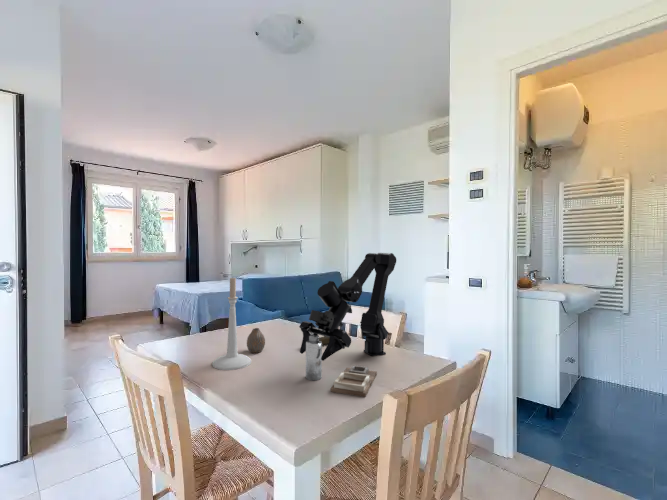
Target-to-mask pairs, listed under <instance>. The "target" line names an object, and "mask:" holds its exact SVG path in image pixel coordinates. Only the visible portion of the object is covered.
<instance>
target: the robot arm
mask: <svg viewBox="0 0 667 500" xmlns="http://www.w3.org/2000/svg"><path fill="white" fill-rule="evenodd" d="M396 265H397V257H396V256H395V254H394V253H393V252H378V253H377V252H376V253H374V252H373V253H372V252H368V253H366V254H365V257H364V259H363V260H362V262H361V263H360V264H359V266H358V267H357V269H356V270H355V272H354V273H353V274H352V276H351V277H349V278H348V279H346V280H344V281H343V282H342V283H341V284H340V285H339V286H337V285H336V282H335V281H334V280H333V281H332V280H329V281H327V283H324V284H322V285H321V286H320V287H319V288H318V289H317V295H318V297H319V298H320V300H321V301H322V302H323V304H324V305H325V306H326V307H327V308H329V309H328V310H326V311H324V312H323V311H320V310H314V309H312V310H311V312H310V313H309V314H310V315H309V318H308V320H309V321H310V322H309V321H305V320H304V321H303V320H302V321H301V323H300V324H299V326H298V327H299V329H300V331H301V333H302V341H301V344H300V350H299V353H300V354H303V355H304V353H306V342H307V341H309V336H310V335H319V336H321V337H324V336H326V337H329V343H328V344H326V347H325V349H324V351H323V352H322V357H321V360H322V362H324V361H326V360H327V359H328V358H330V357H331V356H333V355H334V354H335V353H337V352H339V351H341V350H343V349H345V348H350V345H351V344H352V338H351V337H350V335H349V334H348V332H347V331H346V330H345V329H340V328H342V327H343V320H344V319H345V317H346V315H347V313H348V314H353V309H352V305H350V304H349V303H357V302H358V301H359V299H360V298H361V296H362V294H363V286H364V285H365V283H366V281H367V280H368V278H369V277H370V275H371V274H372V272H373V271H374V272H375V278H374V281H373V285H372V287H373V288H372V290H371V291H372V292H371V296H370V300H369V306H368V310H367V311H365V312H362V313H361V319H360V322H359V323H360V329H361V335H362V337H365V340H364V349H363V352H364V353H366V354H367V355H368V356H371V357H372V356H381V355H386V351H384V348H385V347H384V346H385V341H384V340H386V339H388V334H389V331H388V330H387V328H386V327H385V324H384V323H385V319H384V316H383V313H382V310H383V305H384V300H385V295H386V290H387V286H388V279H389V277H390V275H391V274H392V272H394V270H395V267H396ZM347 302H348V303H347ZM311 321H313V322H315V324H314V323H313V322H311ZM316 326H317V327H316Z"/></svg>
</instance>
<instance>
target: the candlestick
mask: <svg viewBox="0 0 667 500" xmlns="http://www.w3.org/2000/svg"><path fill="white" fill-rule="evenodd" d="M236 281H237V278H236V277H230V278H229V296H228V297H227V299H228V303H229V305H230V306H229V311H228V313H229V314H228V328H227V329H228V333H227V344H226V345H227V347H226V354H222V355H221V356H219V357H217V358H216V359H214V360H212V361H213V362H212V367H213V368H215V369H217V370H220V371H221V370H222V371H234V370H240V369H243V368H246V367H248V366H250V365H251V364H252V359H251V358H250V357H249V356H247V355H246V354H243V353H239V352H238V337H237V335H238V333H237V315H236V310H237V309H236V303H237V302H238V301H237V299H238V298H239V297H238V296H236V295H237V294H236V293H237V290H236V289H237V285H236V284H237V283H236Z"/></svg>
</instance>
